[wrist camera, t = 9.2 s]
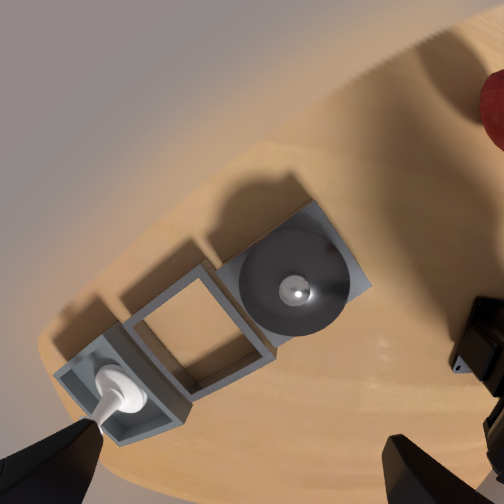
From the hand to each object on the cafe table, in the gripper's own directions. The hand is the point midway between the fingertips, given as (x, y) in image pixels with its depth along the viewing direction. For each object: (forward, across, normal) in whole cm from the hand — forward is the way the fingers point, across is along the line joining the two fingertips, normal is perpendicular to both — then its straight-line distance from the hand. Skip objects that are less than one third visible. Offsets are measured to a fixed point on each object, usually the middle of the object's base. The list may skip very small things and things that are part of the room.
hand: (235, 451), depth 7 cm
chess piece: (+13, +12, +9) cm, 20 cm away
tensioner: (+13, +1, +1) cm, 13 cm away
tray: (+14, +12, +9) cm, 20 cm away
